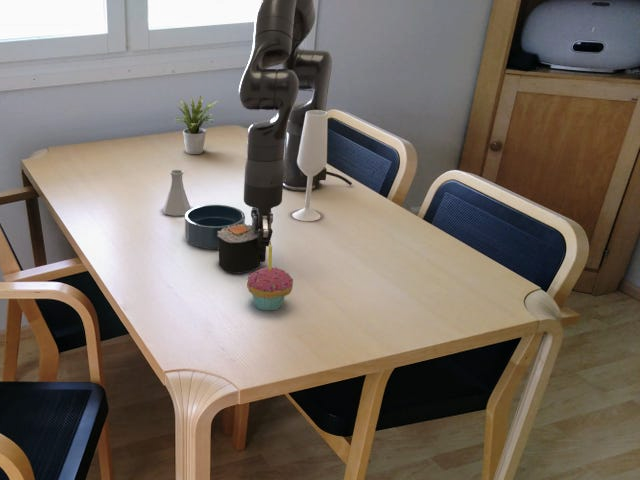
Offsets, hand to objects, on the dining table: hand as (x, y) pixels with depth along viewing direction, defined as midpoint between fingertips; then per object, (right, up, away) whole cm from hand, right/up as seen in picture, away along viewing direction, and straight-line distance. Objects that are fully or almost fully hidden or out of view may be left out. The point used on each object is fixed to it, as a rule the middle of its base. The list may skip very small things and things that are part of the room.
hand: (259, 260), depth 141 cm
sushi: (-4, -1, +1) cm, 4 cm away
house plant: (-10, +42, +66) cm, 79 cm away
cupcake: (0, -11, -13) cm, 17 cm away
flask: (-16, +16, +27) cm, 35 cm away
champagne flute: (+15, +14, +22) cm, 30 cm away
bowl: (-8, +7, +12) cm, 16 cm away
